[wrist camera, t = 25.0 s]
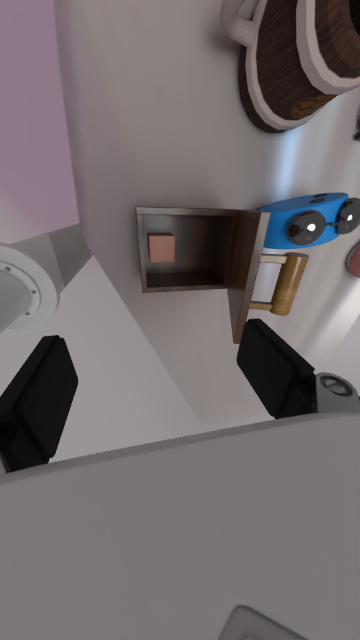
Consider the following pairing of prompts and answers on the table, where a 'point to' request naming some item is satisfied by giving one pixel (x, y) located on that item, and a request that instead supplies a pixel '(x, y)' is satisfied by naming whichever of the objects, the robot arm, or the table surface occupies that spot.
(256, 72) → the mug
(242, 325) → the lid
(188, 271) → the chest
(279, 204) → the alarm clock
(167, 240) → the block
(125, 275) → the table surface
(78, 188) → the table surface
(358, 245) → the container
